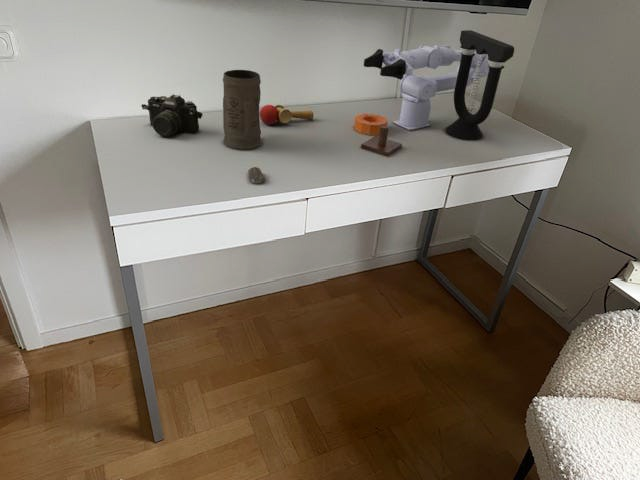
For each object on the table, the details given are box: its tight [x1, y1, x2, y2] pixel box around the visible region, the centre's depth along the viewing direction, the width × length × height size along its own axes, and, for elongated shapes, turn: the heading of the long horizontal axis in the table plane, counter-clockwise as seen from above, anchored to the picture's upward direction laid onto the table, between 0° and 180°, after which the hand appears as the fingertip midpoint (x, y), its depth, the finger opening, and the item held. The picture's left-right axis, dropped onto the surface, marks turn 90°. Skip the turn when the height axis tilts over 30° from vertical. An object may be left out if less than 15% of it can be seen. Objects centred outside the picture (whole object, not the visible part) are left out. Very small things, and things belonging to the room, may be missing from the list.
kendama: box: [259, 104, 314, 126], centre depth 158 cm, size 8×6×18 cm
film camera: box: [140, 93, 203, 138], centre depth 143 cm, size 18×12×10 cm
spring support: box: [444, 29, 515, 141], centre depth 153 cm, size 21×12×30 cm, turn 22°
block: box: [247, 166, 266, 185], centre depth 124 cm, size 4×6×2 cm, turn 19°
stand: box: [360, 125, 403, 157], centre depth 146 cm, size 9×9×6 cm
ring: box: [353, 113, 388, 136], centre depth 159 cm, size 10×10×3 cm
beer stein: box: [222, 69, 262, 151], centre depth 139 cm, size 15×11×20 cm
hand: (372, 67), depth 144 cm, fingers open, 7 cm apart
